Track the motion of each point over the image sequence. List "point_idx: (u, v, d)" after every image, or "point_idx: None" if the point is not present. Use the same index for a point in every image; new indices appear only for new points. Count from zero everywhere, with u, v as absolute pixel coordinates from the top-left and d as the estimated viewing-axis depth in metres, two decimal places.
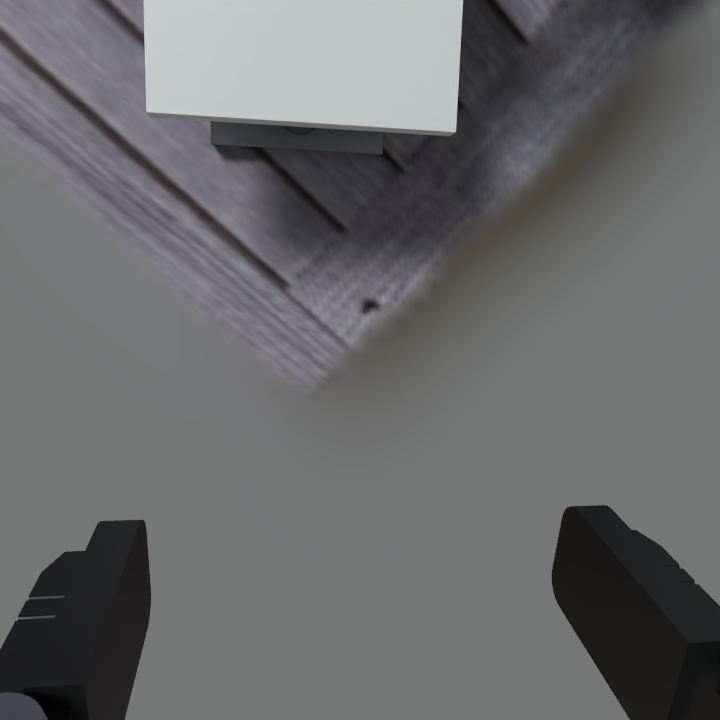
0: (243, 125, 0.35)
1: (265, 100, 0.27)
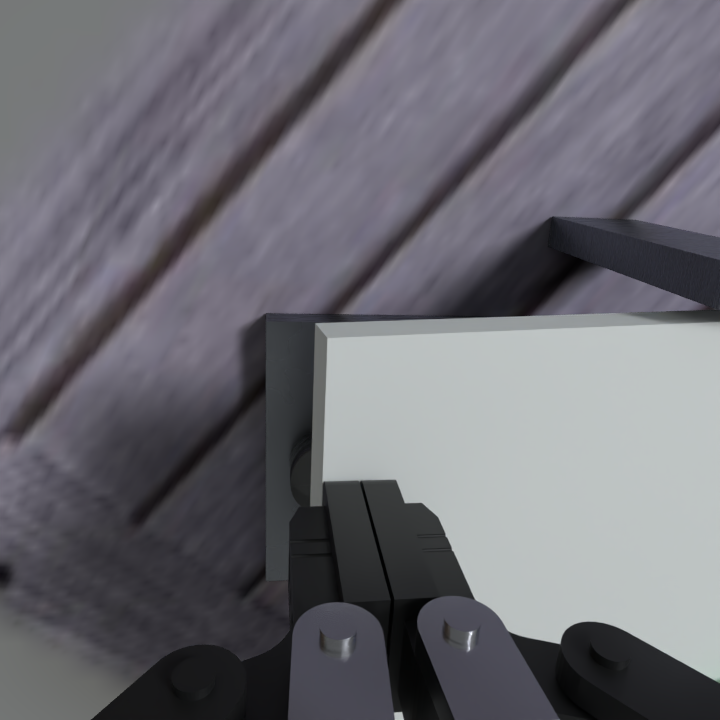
0: (300, 375, 0.20)
1: None
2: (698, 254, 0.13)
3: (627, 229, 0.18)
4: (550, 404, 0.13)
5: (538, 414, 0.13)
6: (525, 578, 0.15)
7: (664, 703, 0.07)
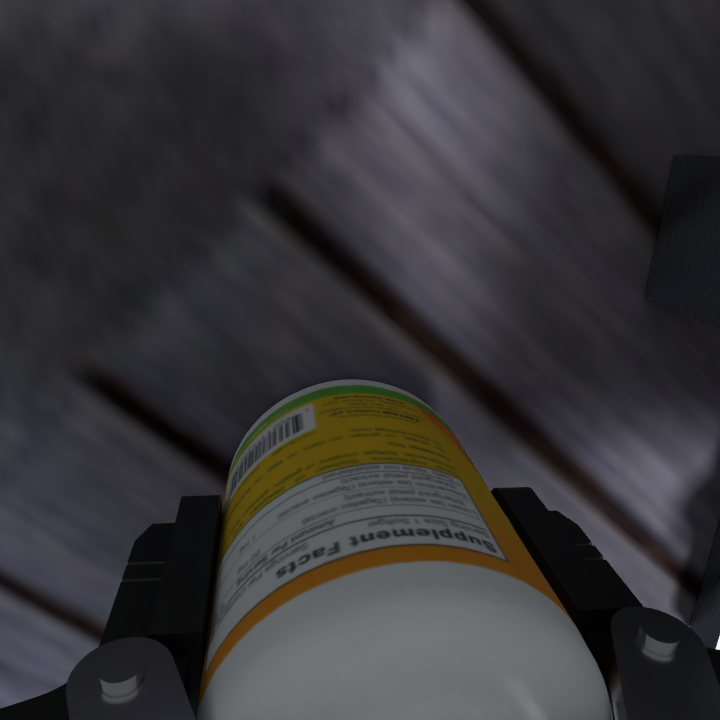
0: None
1: None
2: None
3: None
4: None
5: None
6: None
7: None
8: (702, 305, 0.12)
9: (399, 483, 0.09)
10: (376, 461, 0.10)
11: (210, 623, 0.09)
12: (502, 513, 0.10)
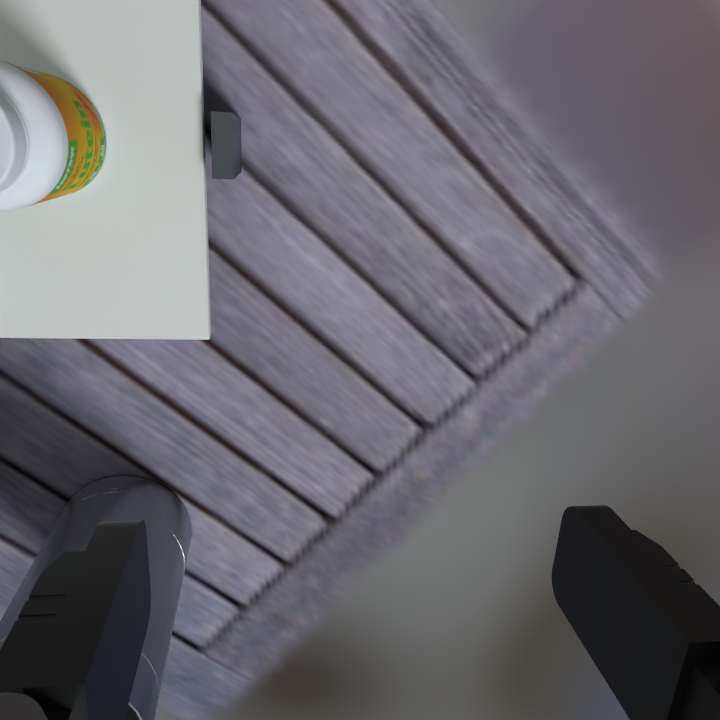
0: None
1: None
2: (233, 114, 0.29)
3: (238, 134, 0.34)
4: (160, 27, 0.28)
5: (155, 21, 0.28)
6: (53, 22, 0.27)
7: None
8: None
9: None
10: None
11: None
12: (62, 91, 0.24)
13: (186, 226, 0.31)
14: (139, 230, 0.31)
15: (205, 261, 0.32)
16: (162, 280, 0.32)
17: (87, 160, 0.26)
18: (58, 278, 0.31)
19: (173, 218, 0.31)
